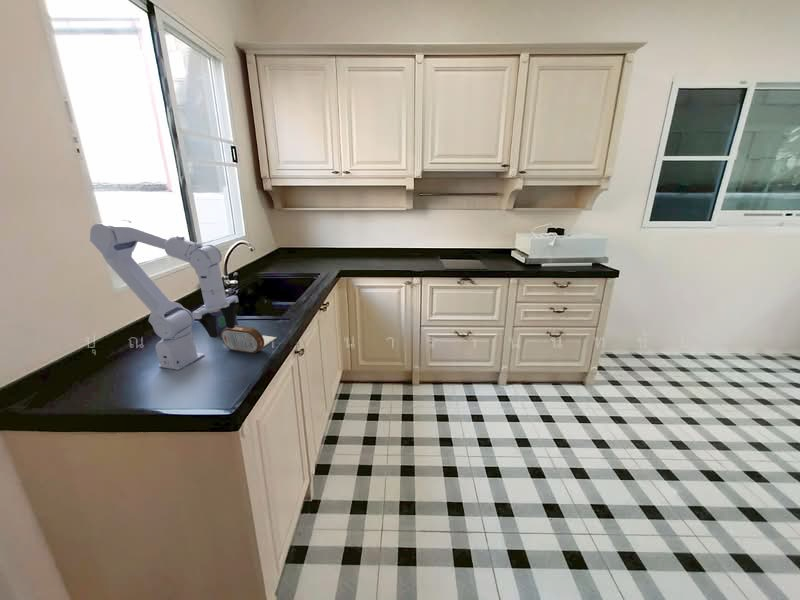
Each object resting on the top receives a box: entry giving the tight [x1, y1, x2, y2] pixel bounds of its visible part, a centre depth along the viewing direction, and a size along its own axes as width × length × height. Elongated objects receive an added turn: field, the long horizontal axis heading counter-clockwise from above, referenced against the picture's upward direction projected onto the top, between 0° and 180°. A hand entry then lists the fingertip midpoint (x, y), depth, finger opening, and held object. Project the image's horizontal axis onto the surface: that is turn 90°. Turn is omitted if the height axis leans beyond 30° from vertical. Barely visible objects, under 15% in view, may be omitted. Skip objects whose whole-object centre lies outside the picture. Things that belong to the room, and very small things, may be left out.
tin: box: [220, 325, 265, 354], centre depth 108 cm, size 15×3×8 cm, turn 72°
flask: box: [210, 309, 240, 336], centre depth 123 cm, size 9×3×11 cm, turn 138°
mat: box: [261, 334, 277, 348], centre depth 115 cm, size 8×10×1 cm
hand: (222, 332), depth 100 cm, fingers open, 6 cm apart
